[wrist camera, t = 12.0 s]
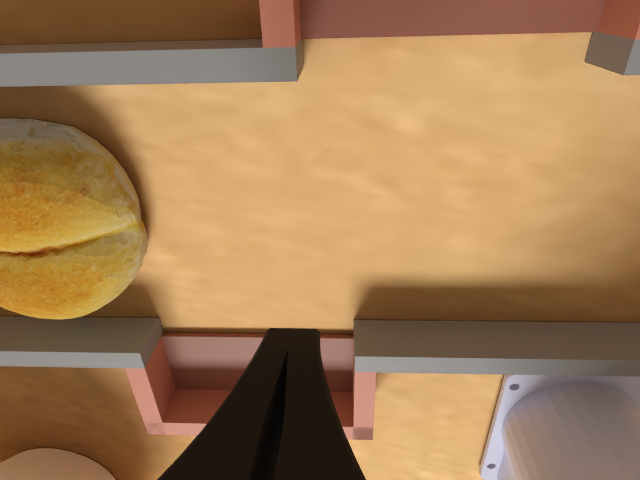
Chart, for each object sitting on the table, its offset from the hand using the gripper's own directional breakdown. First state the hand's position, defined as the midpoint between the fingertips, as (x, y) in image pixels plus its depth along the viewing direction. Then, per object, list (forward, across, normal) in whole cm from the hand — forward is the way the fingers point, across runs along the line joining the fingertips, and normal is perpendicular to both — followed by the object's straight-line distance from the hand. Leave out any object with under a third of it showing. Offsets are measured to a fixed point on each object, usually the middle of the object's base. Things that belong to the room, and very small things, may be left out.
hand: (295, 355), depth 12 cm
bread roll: (+9, +12, 0) cm, 15 cm away
